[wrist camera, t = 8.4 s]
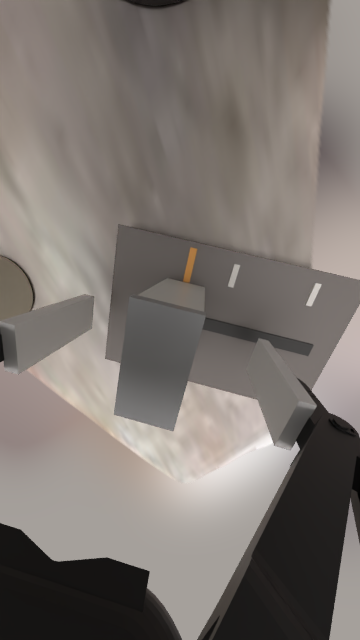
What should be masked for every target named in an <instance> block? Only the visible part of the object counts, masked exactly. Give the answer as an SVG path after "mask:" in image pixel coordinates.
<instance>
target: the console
mask: <svg viewBox="0 0 360 640" xmlns="http://www.w3.org/2000/svg"><path fill="white" fill-rule="evenodd" d="M167 278H169V279H173V280H177V281H181V282H186V283H190V284H194V285H198V286H202V287H205V308H204V312H206V317H205V321H204V324H203V328H202V332H201V335H200V339H199V342H198V346H197V349H196V353H195V356H194V360H193V363H192V367H191V371H190V374H189V378H188V381H190V382H194V383H197V384H201V385H205V386H209V387H212V388H216V389H220V390H224V391H227V392H231V393H235V394H238V395H242V396H246V397H250V398H253V399H257V396H256V393H255V391H254V388H253V385H252V382H251V380H250V377H249V374H248V371H247V369H246V368H247V366H248V363H249V361H250V358H251V356H252V353H253V351H254V348H255V346H256V343H257V341H258V338H260V339H264V340H268V341H269V342H270V343H271V345H272V346H273V347H274V349H275V350H276V351H277V353H278V354H279V355H280V357H281V358H282V359H283V361H284V362H285V363H286V365H287V366H288V367H289V369H290V370H291V371H292V373H293V374H294V375H295V377H296V378H298V379H300V380H301V381H303V382H304V383H305V384H306V385H307V386H308V387H309V388H310V390H312V388H313V386H314V384H315V383H316V381H317V379H318V377H319V376H320V374H321V372H322V370H323V368H324V367H325V365H326V363H327V361H328V360H329V358H330V356H331V354H332V352H333V351H334V349H335V347H336V345H337V344H338V342H339V340H340V338H341V336H342V335H343V333H344V331H345V329H346V328H347V326H348V324H349V322H350V320H351V319H352V317H353V315H354V313H355V312H356V310H357V308H358V306H359V304H360V280H357V279H352V278H348V277H344V276H339V275H335V274H331V273H327V272H322V271H318V270H314V269H309V268H305V267H301V266H297V265H292V264H288V263H284V262H279V261H275V260H271V259H266V258H262V257H258V256H253V255H249V254H245V253H240V252H236V251H232V250H227V249H223V248H219V247H214V246H210V245H206V244H202V243H197V242H193V241H189V240H184V239H180V238H176V237H171V236H167V235H163V234H158V233H154V232H150V231H145V230H141V229H137V228H132V227H128V226H124V225H120V224H118V234H117V244H116V255H115V265H114V275H113V285H112V295H111V305H110V315H109V325H108V336H107V346H106V356H105V359H108V360H112V361H116V362H119V363H121V357H122V350H123V342H124V334H125V327H126V319H127V312H128V304H129V297H130V296H132V295H134V294H135V295H138V294H140V293H142V292H144V291H145V290H147V289H149V288H151V287H152V286H154V285H156V284H158V283H160V282H161V281H163V280H165V279H167ZM257 400H258V399H257Z"/></svg>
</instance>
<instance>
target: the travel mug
mask: <svg viewBox="0 0 360 640" xmlns="http://www.w3.org/2000/svg"><path fill="white" fill-rule="evenodd" d="M32 303H33V293H32V289H31V285H30V283H29V281H28V279H27V277H26V275H25V274H24V273H23V271H22V270H21V269H20V268H19V267H18V266H17V265H16V264H15V263H13V262H12V261H10V260H9V259H7V258H5V257H2V256H0V321H1V320H4V319H8V318H11V317H14V316H17V315H20V314H23V313H27V312H29V311H30V309H31V307H32Z"/></svg>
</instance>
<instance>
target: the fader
mask: <svg viewBox="0 0 360 640" xmlns="http://www.w3.org/2000/svg"><path fill="white" fill-rule="evenodd" d="M204 308H205V287H202V286H198V285H194V284H190V283H186V282H181V281H177V280H173V279H169V278H167V279H165V280H163V281H161V282H160V283H158V284H156V285H154V286H152V287H151V288H149V289H147V290H145V291H144V292H142V293H140V294H138V295H135V294H134V295H132V296H130V297H129V304H128V312H127V319H126V327H125V334H124V342H123V350H122V357H121V365H120V372H119V380H118V387H117V395H116V403H115V410H114V415H117V416H121V417H124V418H128V419H131V420H135V421H138V422H142V423H146V424H149V425H153V426H156V427H160V428H163V429H167V430H170V431H174V427H175V424H176V420H177V417H178V413H179V410H180V406H181V402H182V399H183V395H184V392H185V388H186V385H187V381H188V378H189V374H190V371H191V367H192V363H193V360H194V356H195V353H196V349H197V346H198V342H199V339H200V335H201V332H202V328H203V324H204V321H205V317H206V312H204Z"/></svg>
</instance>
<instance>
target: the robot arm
mask: <svg viewBox="0 0 360 640" xmlns="http://www.w3.org/2000/svg"><path fill="white" fill-rule="evenodd" d="M130 1H132V2H135V3H139V4H143V5H166V4H171V3H174V2H177V1H180V0H130ZM93 304H94V296H90V295H86V294H84V295H81V296H78V297H75V298H71V299H68V300H65V301H62V302H59V303H55V304H52V305H49V306H46V307H43V308H39V309H36V310H33V311H30V312H27V313H23V314H20V315H17V316H14V317H11V318H8V319H4V320H1V321H0V362H2V361H3V360H4V368H5V371H9V372H12V373H16V374H20V373H22V372H23V371H25V370H26V369H28V368H30V367H31V366H33V365H34V364H36V363H37V362H39V361H41V360H42V359H44V358H45V357H47V356H49V355H50V354H52V353H53V352H55V351H56V350H58V349H60V348H61V347H63V346H64V345H66V344H68V343H69V342H71V341H72V340H74V339H76V338H77V337H79V336H80V335H82V334H83V333H85V332H87V331H88V330H90V329H91V328H92V319H93ZM246 369H247V371H248V374H249V377H250V380H251V382H252V385H253V388H254V391H255V393H256V396H257V399H258V402H259V404H260V407H261V410H262V413H263V415H264V418H265V421H266V424H267V426H268V429H269V432H270V435H271V437H272V440H273V443H274V445H275V446H277V447H281V448H284V449H288V450H291V449H292V447H293V445H294V444H295V442H296V441H297V443H298V445H299V448H300V451H299V452H298V454H297V455H296V457H295V459H294V460H293V462H292V464H291V465H290V466H291V467H290V469H289V471H288V472H287V474H286V476H285V478H284V480H283V482H282V484H281V486H280V487H279V489H278V491H277V493H276V495H275V497H274V499H273V501H272V503H271V504H270V506H269V508H268V510H267V512H266V514H265V516H264V518H263V520H262V521H261V523H260V525H259V527H258V529H257V531H256V533H255V535H254V536H253V538H252V540H251V542H250V544H249V546H248V548H247V549H246V551H245V553H244V555H243V557H242V559H241V561H240V563H239V565H238V567H237V568H236V570H235V572H234V574H233V576H232V578H231V580H230V582H229V583H228V585H227V587H226V589H225V591H224V593H223V595H222V596H221V599H220V600H219V602H218V604H217V606H216V608H215V609H214V611H213V613H212V615H211V617H210V618H209V620H208V622H207V624H206V625H205V627H204V629H203V630H202V632H201V634H200V636H199V637H198V639H197V640H329V636H330V630H331V623H332V615H333V610H334V603H335V596H336V590H337V583H338V577H339V570H340V563H341V556H342V550H343V543H344V537H345V530H346V523H347V517H348V510H349V504H350V498H351V502H352V507H353V512H354V517H355V522H356V527H357V532H358V537H359V542H360V438H359V434H358V433H357V431H356V430H355V429H354V428H353V427H352V426H351V425H350V424H349V423H348V422H346V421H345V420H343V419H341V418H340V417H337V416H336V415H333V414H330V413H328V411H327V410H326V409H325V408H324V406H323V405H322V404H321V403H320V401H319V400H318V399H317V398H316V396H315V395H314V394H313V393H312V391H311V390H310V388H309V387H308V386H307V385H306V384H305V383H304V382H303V381H301V380H300V379H298V378H296V377H295V375H294V374H293V373H292V371H291V370H290V369H289V367H288V366H287V365H286V363H285V362H284V361H283V359H282V358H281V357H280V355H279V354H278V353H277V351H276V350H275V349H274V347H273V346H272V345H271V343H270V342H269V341H268V340H264V339H260V338H258V341H257V343H256V346H255V348H254V351H253V353H252V356H251V358H250V361H249V363H248V366H247V368H246ZM148 577H149V571H147V570H144V569H141V568H138V567H134V566H131V565H128V564H125V563H122V562H119V561H116V560H113V559H110V558H96V559H85V560H73V561H61V562H57V561H53V560H52V559H50V558H49V557H48V556H47V555H46V554H45V553H44V552H43V551H42V550H41V549H40V548H39V547H38V546H37V545H36V544H35V543H34V542H33V541H31V539H30V538H29V537H28V536H27V535H25V533H23V532H22V531H21V530H20V529H17V528H14V527H10V526H7V525H4V524H1V523H0V640H182V638H181V636H180V634H179V632H178V630H177V628H176V626H175V624H174V622H173V620H172V618H171V617H170V615H169V613H168V612H167V610H166V609H165V607H164V606H163V604H162V603H161V602H160V601H159V600H158V598H157V597H156V596H155V595H154V594H153V593H152V592H151V591H150V590H149V589H147V583H148Z"/></svg>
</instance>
